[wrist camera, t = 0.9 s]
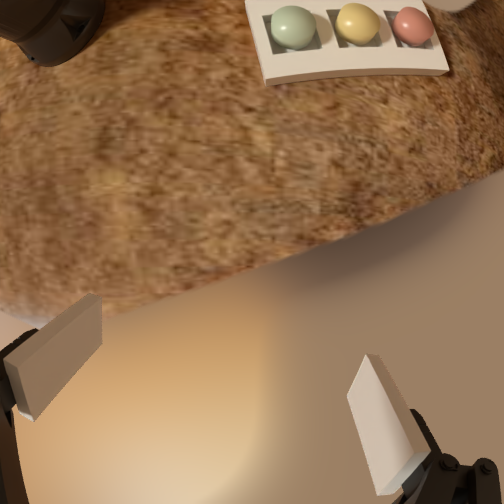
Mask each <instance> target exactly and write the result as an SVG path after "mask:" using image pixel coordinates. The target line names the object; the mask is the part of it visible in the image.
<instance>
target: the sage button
mask: <svg viewBox="0 0 504 504" xmlns="http://www.w3.org/2000/svg"><path fill="white" fill-rule="evenodd" d="M315 29H316V20H315V17H314V16H313V15H312V13H310V12H309V11H308V10H306V9H304V8H302V7H299V6H284V7H281V8H279V9H278V10H276V11H275V12H274V14H273V15H272V18H271V36H272V38H273V40H274V41H275V42H276V43H277V44H278V45H279V46H281V47H283V48H286V49H291V50H297V49H302V48H304V47H306V46H307V45H309V44H310V42H311V41H312V38H313V35H314V32H315Z"/></svg>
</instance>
